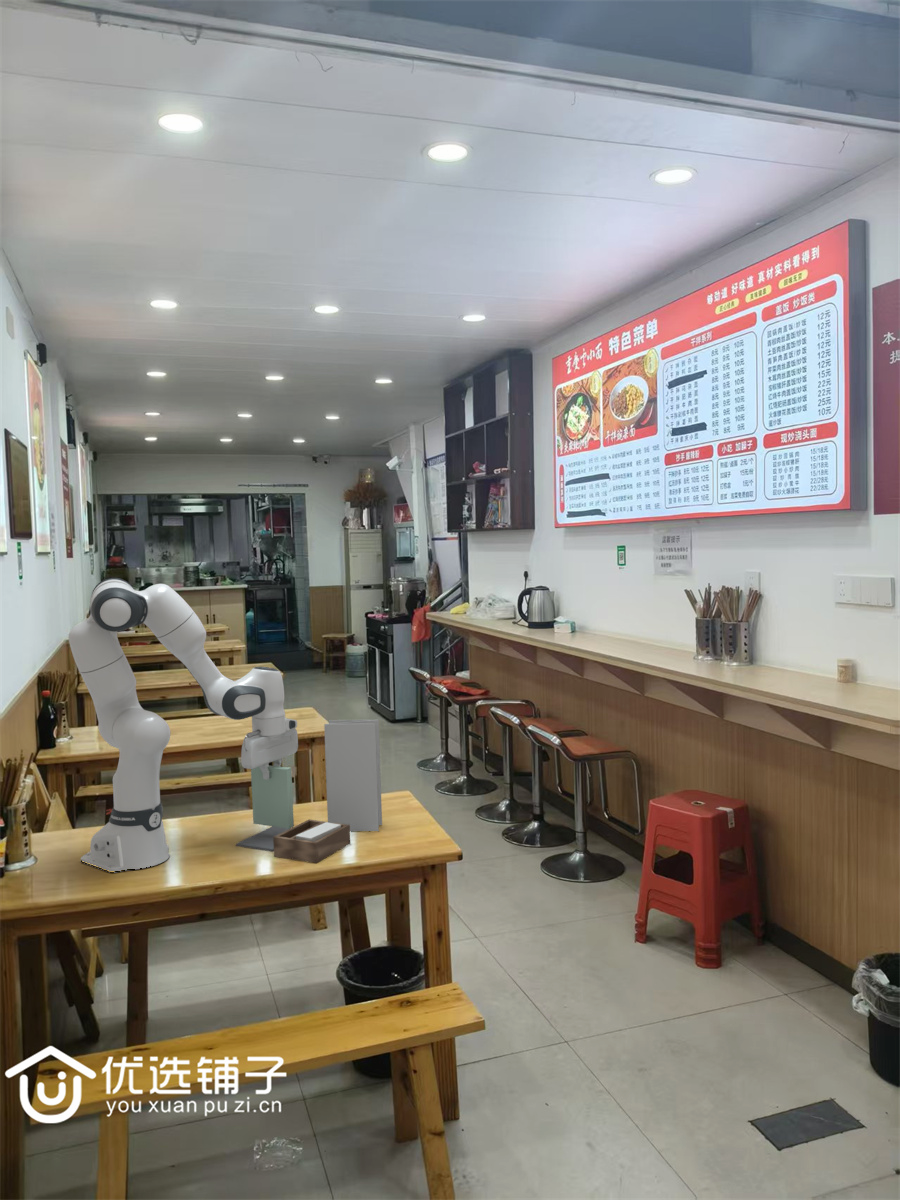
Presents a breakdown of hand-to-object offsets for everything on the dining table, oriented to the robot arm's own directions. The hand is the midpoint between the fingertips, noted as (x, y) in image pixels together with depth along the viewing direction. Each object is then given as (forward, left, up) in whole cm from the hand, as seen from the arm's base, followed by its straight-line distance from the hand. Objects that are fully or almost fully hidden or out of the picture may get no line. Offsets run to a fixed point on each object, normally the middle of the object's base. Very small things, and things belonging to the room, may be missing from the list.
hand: (271, 777), depth 230 cm
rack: (+15, -3, -17) cm, 23 cm away
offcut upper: (+17, -3, -14) cm, 23 cm away
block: (0, 0, -13) cm, 13 cm away
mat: (0, 0, -17) cm, 17 cm away
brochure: (+16, +16, -17) cm, 28 cm away
